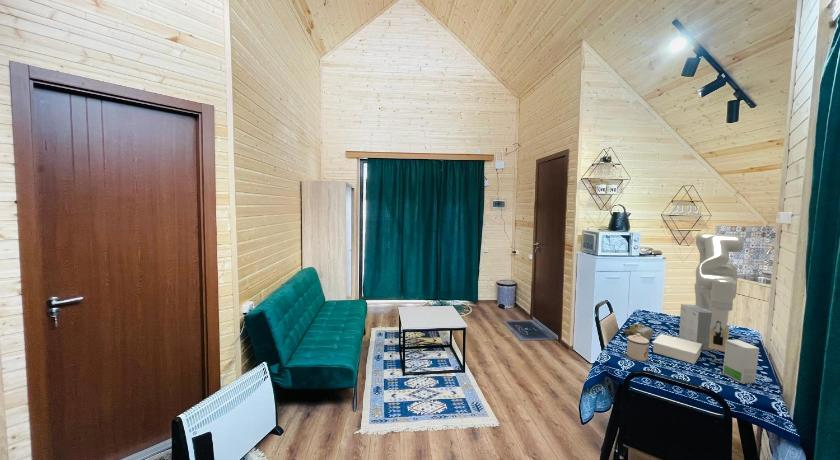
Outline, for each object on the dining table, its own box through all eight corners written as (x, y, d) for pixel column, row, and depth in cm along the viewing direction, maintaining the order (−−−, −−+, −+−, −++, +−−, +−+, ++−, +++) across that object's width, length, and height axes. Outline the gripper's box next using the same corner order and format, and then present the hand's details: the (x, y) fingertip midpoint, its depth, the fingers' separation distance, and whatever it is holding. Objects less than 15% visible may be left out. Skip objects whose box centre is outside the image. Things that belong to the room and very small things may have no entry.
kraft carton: (710, 344, 153) (712, 321, 152) (727, 349, 149) (729, 325, 148) (708, 347, 150) (710, 324, 149) (726, 352, 145) (728, 328, 144)
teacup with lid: (648, 363, 149) (650, 339, 148) (625, 358, 154) (627, 334, 153) (648, 353, 159) (649, 331, 158) (626, 349, 164) (627, 327, 163)
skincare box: (722, 373, 140) (724, 339, 139) (735, 373, 140) (738, 339, 139) (742, 384, 131) (745, 347, 131) (757, 383, 132) (759, 347, 131)
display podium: (660, 343, 172) (661, 333, 171) (701, 354, 159) (702, 343, 159) (651, 352, 161) (652, 342, 160) (695, 364, 148) (696, 353, 148)
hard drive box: (713, 351, 162) (715, 313, 161) (696, 350, 164) (698, 312, 162) (693, 339, 177) (695, 304, 176) (678, 338, 179) (680, 303, 178)
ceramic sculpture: (646, 327, 171) (619, 320, 185) (646, 343, 171) (620, 334, 185) (659, 325, 175) (632, 318, 189) (659, 340, 175) (632, 332, 189)
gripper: (713, 299, 156) (710, 335, 157) (707, 307, 145) (704, 345, 146) (734, 303, 150) (731, 340, 152) (730, 311, 139) (727, 351, 141)
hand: (718, 342), depth 149 cm, fingers closed on kraft carton, 5 cm apart
